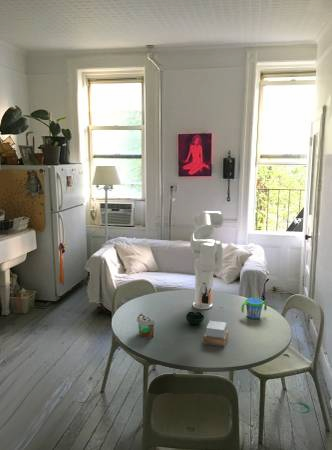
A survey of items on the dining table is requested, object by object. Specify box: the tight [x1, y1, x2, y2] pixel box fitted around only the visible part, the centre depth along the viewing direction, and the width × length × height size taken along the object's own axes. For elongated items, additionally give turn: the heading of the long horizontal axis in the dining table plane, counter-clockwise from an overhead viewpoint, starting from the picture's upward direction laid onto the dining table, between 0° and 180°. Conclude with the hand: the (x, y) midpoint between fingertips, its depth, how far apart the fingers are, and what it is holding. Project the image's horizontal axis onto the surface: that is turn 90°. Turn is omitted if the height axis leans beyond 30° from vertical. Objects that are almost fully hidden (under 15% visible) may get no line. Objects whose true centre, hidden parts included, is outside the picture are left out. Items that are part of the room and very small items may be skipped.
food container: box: [136, 312, 156, 339], centre depth 207 cm, size 12×6×10 cm, turn 37°
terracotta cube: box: [200, 290, 214, 305], centre depth 199 cm, size 6×6×6 cm
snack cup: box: [240, 297, 268, 320], centre depth 231 cm, size 16×10×10 cm
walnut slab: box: [202, 329, 229, 347], centre depth 203 cm, size 11×11×4 cm
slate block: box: [205, 320, 228, 338], centre depth 201 cm, size 9×9×4 cm
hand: (206, 300), depth 200 cm, fingers closed on terracotta cube, 5 cm apart
